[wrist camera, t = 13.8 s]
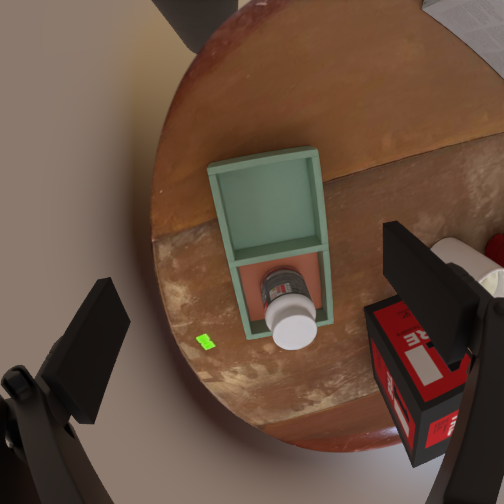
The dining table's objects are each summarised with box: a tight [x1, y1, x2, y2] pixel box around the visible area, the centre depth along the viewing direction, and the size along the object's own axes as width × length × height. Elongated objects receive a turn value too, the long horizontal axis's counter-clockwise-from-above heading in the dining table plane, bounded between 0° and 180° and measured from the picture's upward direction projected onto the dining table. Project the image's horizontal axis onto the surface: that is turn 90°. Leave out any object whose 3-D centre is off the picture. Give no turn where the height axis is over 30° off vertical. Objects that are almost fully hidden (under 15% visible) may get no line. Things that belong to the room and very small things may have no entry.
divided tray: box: [207, 145, 334, 340], centre depth 38 cm, size 22×12×4 cm, turn 10°
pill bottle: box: [261, 266, 317, 350], centre depth 37 cm, size 6×6×10 cm
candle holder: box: [430, 237, 504, 298], centre depth 37 cm, size 10×10×12 cm
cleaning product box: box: [364, 295, 472, 468], centre depth 39 cm, size 16×9×20 cm, turn 19°
